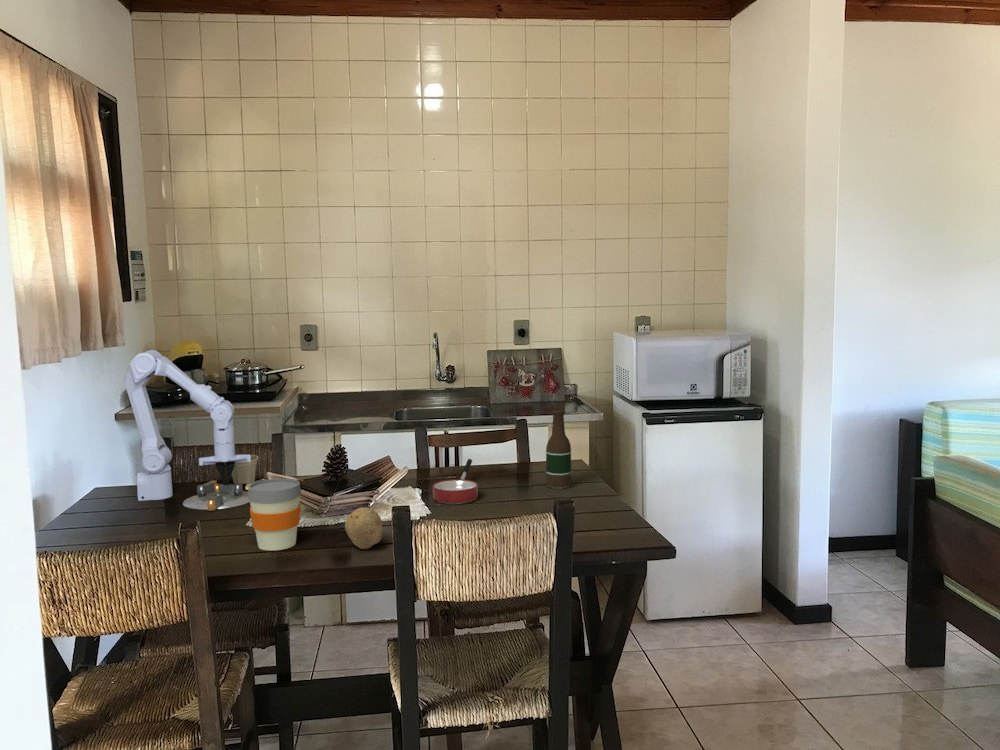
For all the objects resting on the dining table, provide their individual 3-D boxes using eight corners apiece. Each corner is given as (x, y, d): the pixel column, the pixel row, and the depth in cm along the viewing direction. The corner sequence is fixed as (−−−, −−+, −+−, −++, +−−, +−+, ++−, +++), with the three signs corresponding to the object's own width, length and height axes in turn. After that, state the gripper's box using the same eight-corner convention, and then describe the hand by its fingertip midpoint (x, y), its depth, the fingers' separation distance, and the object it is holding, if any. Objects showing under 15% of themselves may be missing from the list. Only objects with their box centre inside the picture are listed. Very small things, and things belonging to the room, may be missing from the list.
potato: (349, 542, 205) (348, 502, 204) (385, 541, 205) (384, 502, 204) (343, 554, 196) (341, 513, 194) (381, 553, 196) (379, 512, 195)
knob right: (243, 493, 247) (243, 483, 246) (240, 495, 244) (240, 485, 244) (216, 493, 247) (215, 483, 247) (212, 495, 245) (212, 485, 245)
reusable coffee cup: (299, 551, 198) (296, 490, 196) (245, 554, 197) (241, 492, 195) (306, 535, 210) (304, 477, 209) (256, 537, 210) (253, 479, 208)
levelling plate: (180, 516, 229) (180, 507, 229) (185, 498, 248) (184, 490, 247) (256, 509, 235) (256, 501, 234) (255, 491, 254) (254, 484, 253)
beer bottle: (554, 482, 261) (554, 406, 258) (576, 485, 256) (576, 408, 253) (541, 487, 254) (540, 409, 251) (563, 491, 250) (562, 412, 247)
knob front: (216, 502, 237) (215, 492, 236) (224, 502, 237) (224, 492, 236) (205, 511, 228) (205, 500, 228) (214, 511, 228) (214, 500, 228)
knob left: (203, 497, 243) (202, 487, 243) (195, 496, 243) (195, 486, 243) (218, 489, 251) (218, 480, 251) (211, 489, 252) (211, 479, 251)
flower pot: (254, 488, 258) (253, 461, 256) (224, 489, 258) (222, 461, 257) (263, 481, 267) (262, 454, 266) (234, 481, 267) (233, 455, 266)
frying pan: (442, 478, 268) (441, 458, 267) (482, 477, 268) (482, 458, 267) (430, 505, 237) (430, 483, 236) (476, 505, 236) (476, 483, 235)
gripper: (197, 446, 241) (200, 492, 242) (250, 443, 245) (252, 488, 246) (198, 441, 247) (201, 486, 249) (249, 438, 252) (251, 482, 253)
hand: (226, 487), depth 248 cm, fingers closed
